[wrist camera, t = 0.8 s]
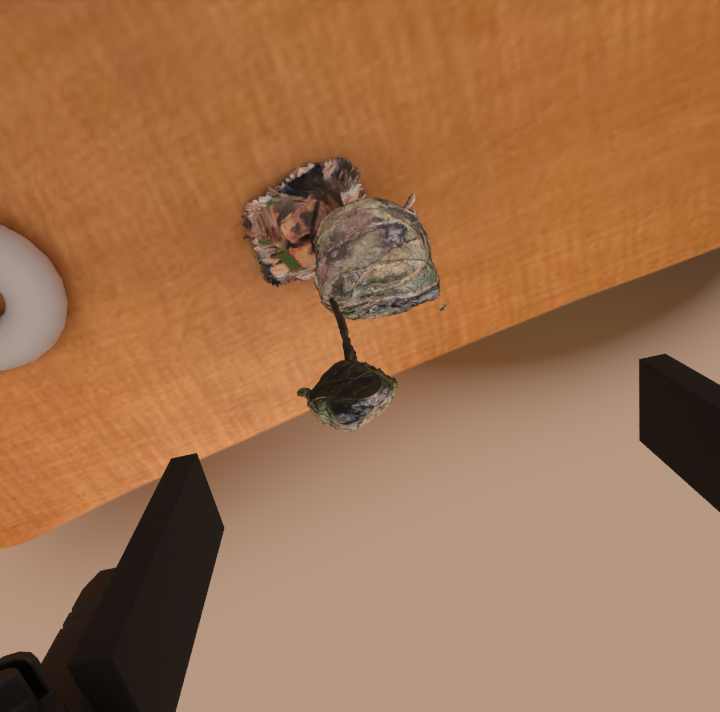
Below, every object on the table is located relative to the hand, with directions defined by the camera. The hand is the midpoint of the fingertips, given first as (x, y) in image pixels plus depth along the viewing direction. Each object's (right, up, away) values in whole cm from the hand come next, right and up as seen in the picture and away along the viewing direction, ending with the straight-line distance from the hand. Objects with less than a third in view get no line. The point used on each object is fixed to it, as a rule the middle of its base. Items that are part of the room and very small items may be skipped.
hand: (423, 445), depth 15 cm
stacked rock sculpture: (-4, +12, +20) cm, 24 cm away
